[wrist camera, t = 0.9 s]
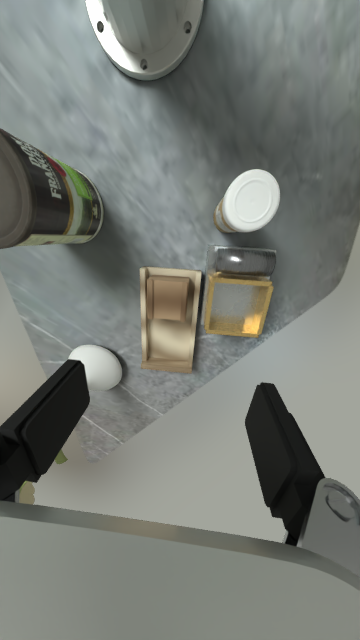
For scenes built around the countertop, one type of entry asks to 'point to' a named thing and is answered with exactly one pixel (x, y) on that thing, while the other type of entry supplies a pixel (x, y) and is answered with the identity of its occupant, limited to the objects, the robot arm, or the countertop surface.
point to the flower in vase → (100, 377)
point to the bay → (169, 326)
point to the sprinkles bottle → (248, 202)
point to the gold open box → (237, 290)
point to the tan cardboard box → (167, 297)
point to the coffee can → (43, 198)
